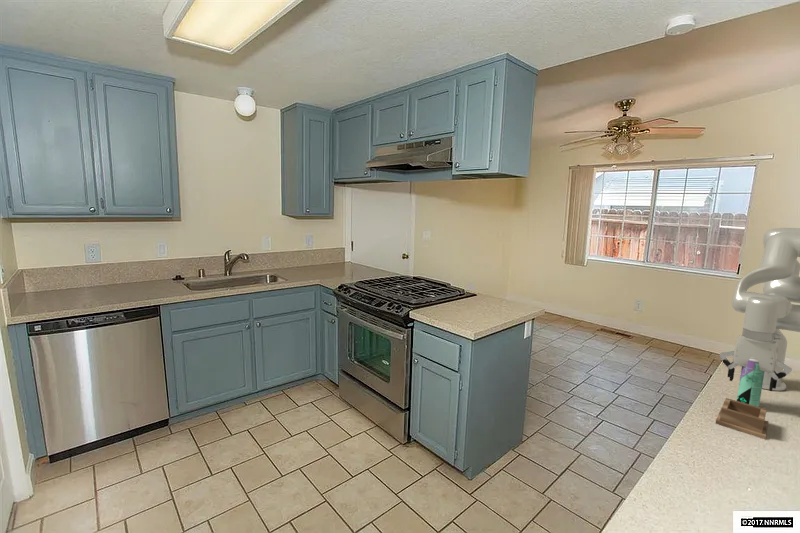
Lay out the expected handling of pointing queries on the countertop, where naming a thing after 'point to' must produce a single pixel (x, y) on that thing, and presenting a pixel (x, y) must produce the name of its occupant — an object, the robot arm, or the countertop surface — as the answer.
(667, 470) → the countertop surface
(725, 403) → the can holder
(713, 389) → the countertop surface
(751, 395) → the spray can
